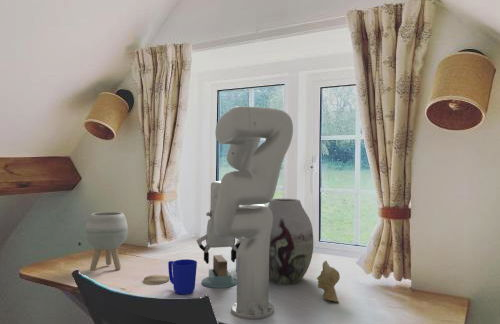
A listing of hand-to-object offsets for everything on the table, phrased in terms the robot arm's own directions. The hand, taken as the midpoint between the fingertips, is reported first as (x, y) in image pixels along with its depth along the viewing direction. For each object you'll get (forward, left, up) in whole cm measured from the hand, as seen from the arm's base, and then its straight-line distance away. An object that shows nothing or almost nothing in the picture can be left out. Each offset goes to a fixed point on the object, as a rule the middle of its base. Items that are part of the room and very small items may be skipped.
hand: (220, 261), depth 137 cm
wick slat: (+5, 0, -1) cm, 6 cm away
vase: (-3, -24, -8) cm, 25 cm away
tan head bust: (-26, -30, -8) cm, 40 cm away
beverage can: (+14, -13, -8) cm, 21 cm away
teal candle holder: (0, 0, -7) cm, 7 cm away
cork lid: (+8, +22, -8) cm, 25 cm away
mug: (-6, +15, -8) cm, 18 cm away
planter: (+29, +41, -8) cm, 51 cm away
